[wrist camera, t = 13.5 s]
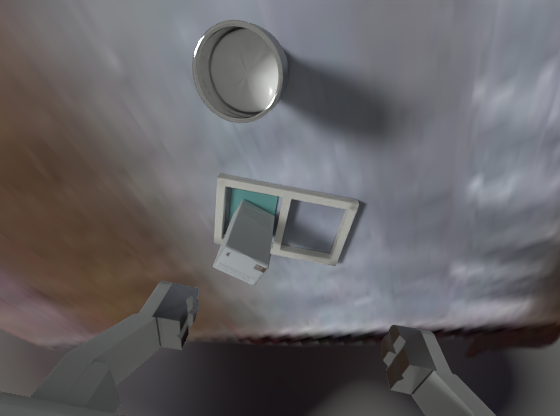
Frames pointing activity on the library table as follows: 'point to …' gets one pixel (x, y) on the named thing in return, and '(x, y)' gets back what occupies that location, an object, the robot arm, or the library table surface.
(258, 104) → the beer glass
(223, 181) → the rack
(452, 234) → the library table surface
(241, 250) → the skincare box
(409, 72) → the library table surface
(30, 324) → the library table surface
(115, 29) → the library table surface
